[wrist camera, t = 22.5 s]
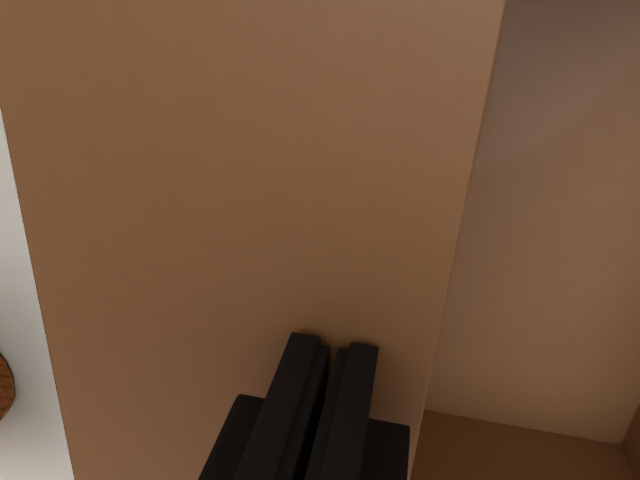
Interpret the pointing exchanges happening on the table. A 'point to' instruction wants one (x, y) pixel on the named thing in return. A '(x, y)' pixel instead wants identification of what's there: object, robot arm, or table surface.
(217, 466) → the robot arm
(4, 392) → the disposable coffee cup
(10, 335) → the table surface
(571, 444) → the carton
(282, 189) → the flap
